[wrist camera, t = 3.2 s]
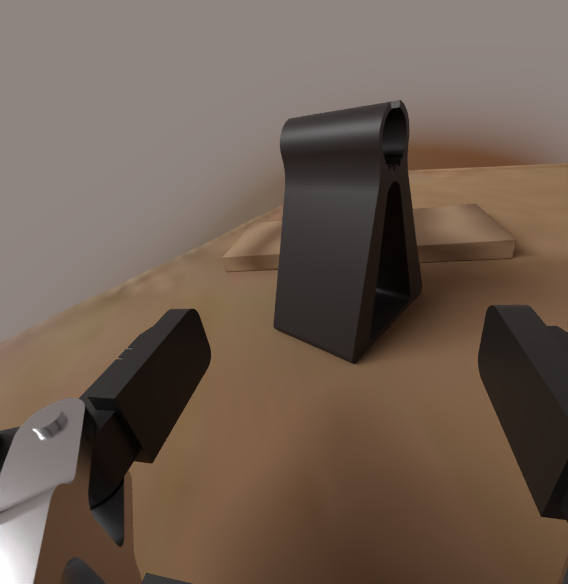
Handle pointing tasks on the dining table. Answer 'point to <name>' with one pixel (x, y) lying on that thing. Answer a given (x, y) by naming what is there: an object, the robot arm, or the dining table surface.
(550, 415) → the robot arm
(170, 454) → the dining table surface
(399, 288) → the phone stand
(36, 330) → the dining table surface
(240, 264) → the oak board
